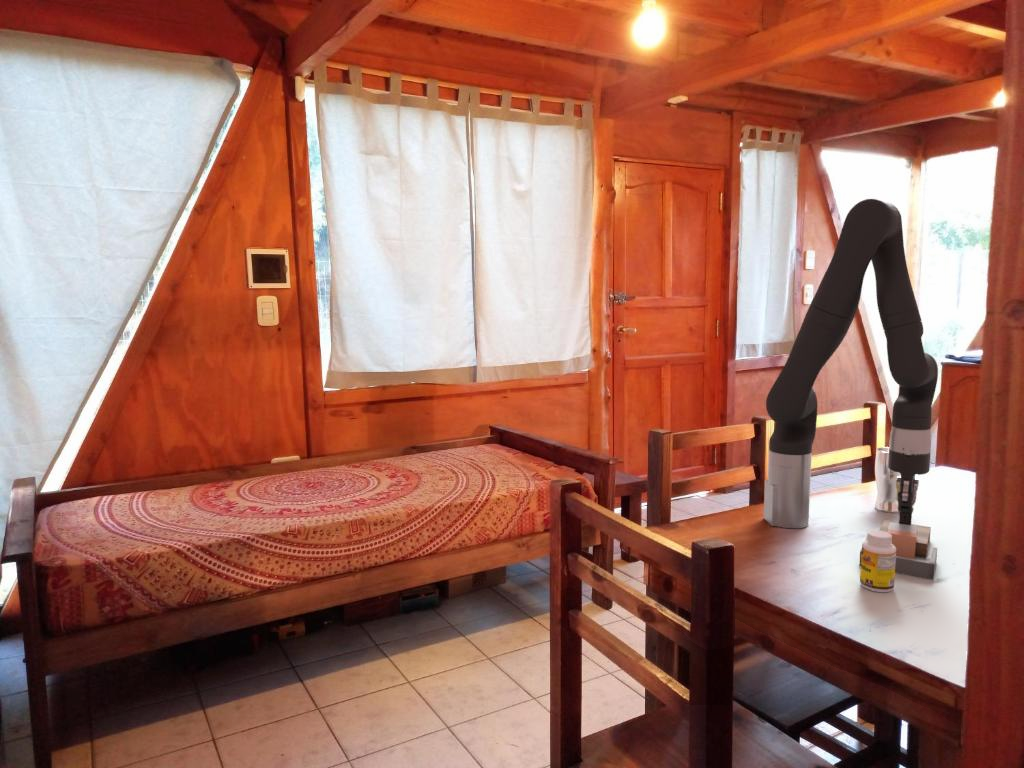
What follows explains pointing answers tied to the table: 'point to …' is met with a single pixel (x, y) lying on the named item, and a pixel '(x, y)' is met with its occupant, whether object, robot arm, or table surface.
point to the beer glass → (885, 483)
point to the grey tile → (903, 528)
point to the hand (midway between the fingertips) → (904, 528)
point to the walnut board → (922, 538)
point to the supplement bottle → (878, 562)
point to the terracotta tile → (904, 543)
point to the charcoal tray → (915, 565)
